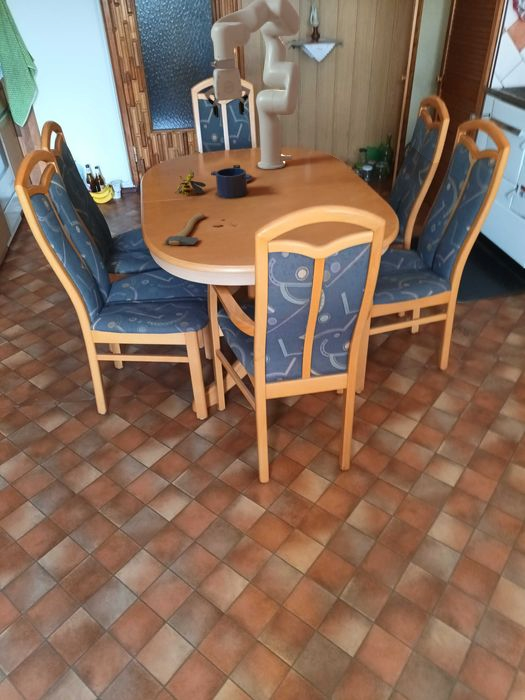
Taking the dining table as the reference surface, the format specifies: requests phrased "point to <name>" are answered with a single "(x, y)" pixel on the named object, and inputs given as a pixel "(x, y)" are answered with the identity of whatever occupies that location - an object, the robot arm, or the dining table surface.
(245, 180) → the pot
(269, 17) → the robot arm
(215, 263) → the dining table surface
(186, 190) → the toy
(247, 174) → the pot lid
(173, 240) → the hand axe
